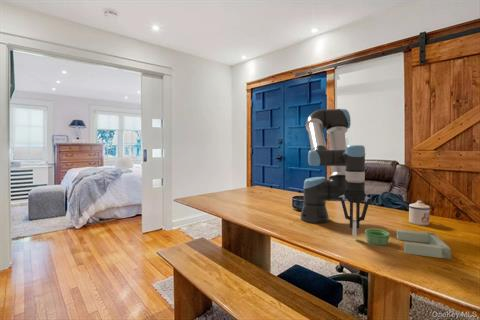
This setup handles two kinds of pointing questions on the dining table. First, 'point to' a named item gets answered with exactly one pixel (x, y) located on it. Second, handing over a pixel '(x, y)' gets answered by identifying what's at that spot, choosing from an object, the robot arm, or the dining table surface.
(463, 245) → the dining table surface
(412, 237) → the holder
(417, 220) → the teacup with lid
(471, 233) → the dining table surface
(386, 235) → the ramekin
